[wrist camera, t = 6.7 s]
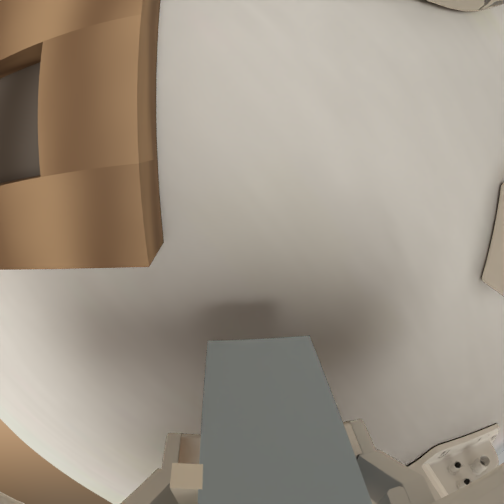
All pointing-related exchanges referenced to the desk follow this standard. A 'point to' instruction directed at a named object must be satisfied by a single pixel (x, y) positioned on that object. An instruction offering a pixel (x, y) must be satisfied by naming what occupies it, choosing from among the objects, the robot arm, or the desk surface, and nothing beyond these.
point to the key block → (269, 430)
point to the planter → (468, 4)
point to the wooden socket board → (78, 134)
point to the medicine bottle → (496, 251)
